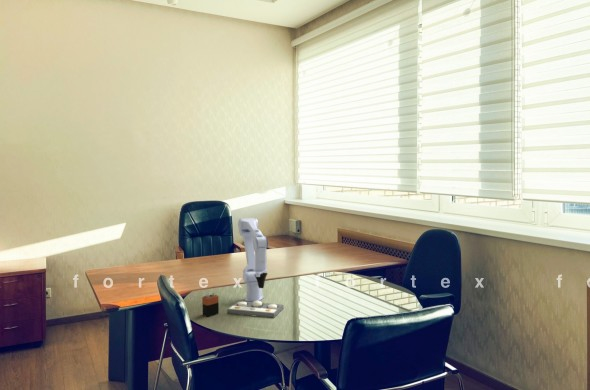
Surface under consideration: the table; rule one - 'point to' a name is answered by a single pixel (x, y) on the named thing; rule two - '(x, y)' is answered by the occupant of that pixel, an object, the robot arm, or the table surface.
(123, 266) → the table surface
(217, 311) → the battery
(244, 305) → the button
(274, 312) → the button board
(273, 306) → the button
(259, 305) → the button
